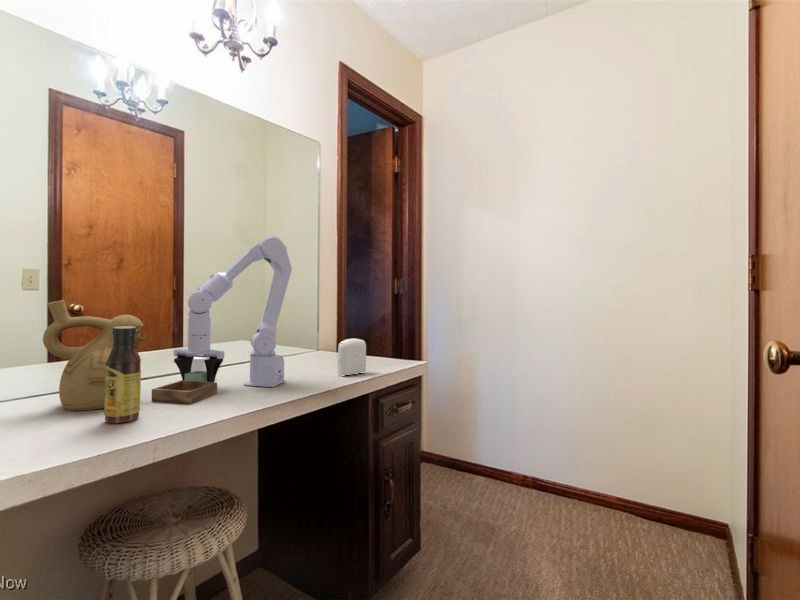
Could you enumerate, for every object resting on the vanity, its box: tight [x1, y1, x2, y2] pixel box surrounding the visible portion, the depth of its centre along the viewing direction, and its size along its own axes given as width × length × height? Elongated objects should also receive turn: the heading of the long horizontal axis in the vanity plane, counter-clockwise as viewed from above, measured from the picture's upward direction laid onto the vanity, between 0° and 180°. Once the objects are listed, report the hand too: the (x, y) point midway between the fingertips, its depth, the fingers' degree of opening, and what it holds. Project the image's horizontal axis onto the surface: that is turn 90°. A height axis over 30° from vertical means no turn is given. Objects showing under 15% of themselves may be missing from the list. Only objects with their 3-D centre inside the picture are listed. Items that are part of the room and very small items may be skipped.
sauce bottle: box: [103, 326, 142, 425], centre depth 84 cm, size 7×6×20 cm
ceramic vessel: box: [42, 299, 147, 411], centre depth 95 cm, size 17×20×25 cm
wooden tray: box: [151, 379, 218, 405], centre depth 102 cm, size 11×11×3 cm
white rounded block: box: [191, 357, 210, 372], centre depth 123 cm, size 7×7×7 cm
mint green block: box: [185, 371, 207, 382], centre depth 112 cm, size 5×5×4 cm
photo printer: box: [337, 337, 367, 376], centre depth 135 cm, size 10×4×12 cm, turn 133°
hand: (198, 382), depth 112 cm, fingers open, 7 cm apart
